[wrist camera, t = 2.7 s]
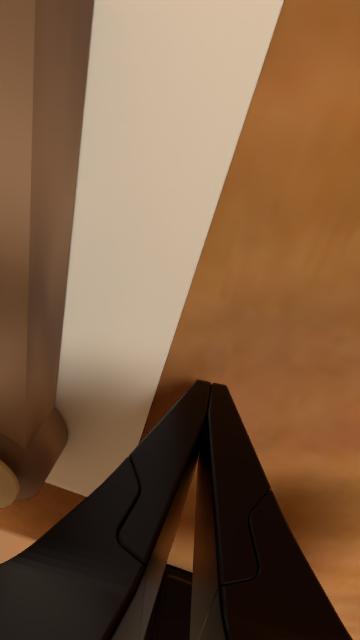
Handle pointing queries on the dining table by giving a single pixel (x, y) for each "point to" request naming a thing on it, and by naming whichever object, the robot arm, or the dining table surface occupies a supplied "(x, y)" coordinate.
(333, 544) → the dining table surface
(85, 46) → the link
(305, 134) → the dining table surface
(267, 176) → the dining table surface
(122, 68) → the pivot plate
